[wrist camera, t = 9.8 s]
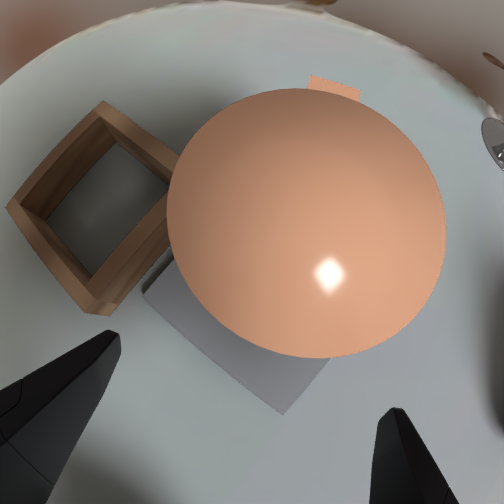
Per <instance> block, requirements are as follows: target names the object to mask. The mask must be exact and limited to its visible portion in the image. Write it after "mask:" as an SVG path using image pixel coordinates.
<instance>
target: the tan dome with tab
mask: <svg viewBox="0 0 504 504" xmlns="http://www.w3.org/2000/svg"><path fill="white" fill-rule="evenodd" d="M360 91H361V90H358V89H355V88H352V87H349V86H346V85H343V84H339V83H336V82H333V81H330V80H326V79H323V78H319V77H316V76H312V75H311V77H310V81H309V84H308V88H307V89H296V88H293V89H279V90H273V91H268V92H262V93H259V94H256V95H253V96H249V97H247V98H244V99H242V100H240V101H238V102H235V103H233V104H231V105H230V106H228V107H226V108H225V109H223V110H221V111H220V112H218V113H217V114H216V115H215V116H213V117H212V118H211V119H210V120H208V121H207V122H206V123H205V124H204V125H203V126H202V127H201V128H200V129H199V130H198V131H197V132H196V133H195V134H194V136H193V137H192V138H191V140H190V141H189V143H188V144H187V145H186V147H185V148H184V150H183V152H182V154H181V156H180V158H179V160H178V162H177V164H176V166H175V169H174V172H173V175H172V178H171V181H170V186H169V191H168V196H167V214H166V216H167V227H168V236H169V240H170V244H171V248H172V252H173V255H174V258H175V260H176V263H177V265H178V267H179V270H180V272H181V274H182V276H183V278H184V279H185V281H186V283H187V284H188V286H189V288H190V290H191V291H192V293H193V294H194V295H195V296H196V298H197V299H198V300H199V301H200V303H201V304H202V305H203V306H204V308H205V309H206V310H207V311H208V312H210V313H211V314H212V315H213V316H214V317H215V318H216V319H217V320H218V321H219V322H220V323H221V324H223V325H224V326H226V327H227V328H228V329H230V330H231V331H233V332H234V333H235V334H237V335H238V336H240V337H242V338H244V339H246V340H248V341H250V342H252V343H253V344H255V345H257V346H260V347H262V348H265V349H268V350H271V351H274V352H277V353H280V354H285V355H290V356H296V357H301V358H331V357H340V356H346V355H350V354H354V353H357V352H361V351H364V350H366V349H369V348H371V347H373V346H376V345H378V344H380V343H382V342H384V341H385V340H387V339H388V338H390V337H392V336H393V335H395V334H396V333H398V332H399V331H400V330H401V329H402V328H403V327H405V326H406V325H407V324H408V323H409V322H410V321H411V320H412V319H413V318H414V317H415V316H416V314H417V313H418V312H419V311H420V310H421V309H422V307H423V306H424V304H425V303H426V301H427V300H428V298H429V296H430V295H431V293H432V291H433V289H434V287H435V285H436V282H437V280H438V278H439V275H440V271H441V268H442V264H443V261H444V255H445V248H446V220H445V211H444V207H443V202H442V198H441V194H440V191H439V189H438V186H437V183H436V180H435V178H434V176H433V174H432V172H431V170H430V168H429V166H428V164H427V163H426V161H425V160H424V158H423V157H422V155H421V154H420V152H419V151H418V149H417V148H416V147H415V146H414V144H413V143H412V142H411V141H410V140H409V138H408V137H407V136H406V135H405V134H404V133H403V132H402V131H401V130H400V129H399V128H397V127H396V126H395V125H394V124H393V123H391V122H390V121H389V120H388V119H386V118H385V117H384V116H382V115H381V114H379V113H377V112H376V111H374V110H373V109H371V108H369V107H367V106H365V105H363V104H361V103H359V98H360Z"/></svg>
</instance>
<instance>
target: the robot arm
mask: <svg viewBox="0 0 504 504" xmlns="http://www.w3.org/2000/svg"><path fill="white" fill-rule="evenodd" d="M120 355H121V342H120V335H119V334H118V333H116V332H114V331H111V330H106V331H104V332H102V333H100V334H98V335H97V336H95V337H93V338H91V339H90V340H88V341H86V342H84V343H83V344H81V345H79V346H77V347H76V348H74V349H72V350H70V351H69V352H67V353H65V354H63V355H62V356H60V357H58V358H56V359H55V360H53V361H51V362H49V363H48V364H46V365H44V366H43V367H41V368H39V369H37V370H36V371H34V372H32V373H30V374H29V375H27V376H25V377H23V379H20V380H18V381H16V382H14V383H13V384H11V385H9V386H7V387H5V388H3V389H2V390H0V504H46V502H47V500H48V498H49V496H50V494H51V492H52V490H53V488H54V485H55V483H56V481H57V480H58V478H59V476H60V474H61V472H62V470H63V468H64V466H65V464H66V462H67V460H68V458H69V456H70V454H71V453H72V451H73V449H74V447H75V445H76V443H77V441H78V440H79V438H80V436H81V434H82V432H83V430H84V429H85V427H86V425H87V423H88V421H89V419H90V418H91V416H92V414H93V412H94V411H95V409H96V407H97V405H98V403H99V402H100V400H101V398H102V396H103V394H104V392H105V390H106V388H107V385H108V383H109V381H110V378H111V376H112V374H113V371H114V369H115V367H116V364H117V362H118V360H119V357H120ZM369 504H459V503H458V501H457V499H456V497H455V496H454V494H453V492H452V490H451V489H450V487H449V485H448V484H447V482H446V480H445V478H444V476H443V475H442V473H441V471H440V469H439V468H438V466H437V464H436V463H435V461H434V459H433V457H432V456H431V454H430V452H429V451H428V449H427V447H426V445H425V444H424V442H423V440H422V439H421V437H420V435H419V434H418V432H417V430H416V429H415V427H414V425H413V424H412V422H411V420H410V419H409V417H408V416H407V414H406V412H405V411H404V410H403V409H402V408H395V407H393V408H391V409H390V410H389V411H388V412H387V413H386V414H385V415H384V416H383V417H382V418H381V419H380V420H379V422H378V426H377V434H376V441H375V447H374V454H373V461H372V472H371V487H370V499H369Z"/></svg>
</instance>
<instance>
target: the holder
mask: <svg viewBox="0 0 504 504" xmlns="http://www.w3.org/2000/svg"><path fill="white" fill-rule="evenodd" d="M116 142H117V143H118V144H119V145H120V146H122V147H123V148H124V149H125V150H126V151H128V152H129V153H130V154H131V155H133V156H134V157H135V158H136V159H138V160H139V161H140V162H141V163H142V164H144V165H145V166H146V167H147V168H149V169H150V170H151V171H152V172H153V173H155V174H156V175H157V176H158V177H160V178H161V179H162V180H163V181H165V182H166V183H167V184H168V185H169V186H170V181H171V178H172V175H173V172H174V169H175V166H176V164H177V162H178V160H179V158H180V156H179V155H177V154H176V153H175V152H173V151H172V150H171V149H169V148H168V147H167V146H165V145H164V144H163V143H161V142H160V141H159V140H157V139H156V138H154V137H153V136H152V135H150V134H149V133H148V132H146V131H145V130H144V129H142V128H141V127H139V126H138V125H137V124H135V123H134V122H133V121H131V120H130V119H128V118H127V117H126V116H124V115H123V114H122V113H120V112H119V111H117V110H116V109H115V108H113V107H112V106H110V105H109V104H108V103H106V102H105V101H102V102H101V103H100V104H99V105H97V106H96V107H95V108H94V109H93V110H92V111H91V112H90V113H89V114H88V115H87V116H86V117H85V118H84V119H82V120H81V121H80V122H79V123H78V124H77V125H76V126H75V127H74V128H73V129H72V130H71V131H70V132H69V133H68V134H67V135H66V136H65V137H64V138H63V139H62V141H61V142H60V143H59V144H58V145H57V146H56V147H55V148H54V149H53V150H52V151H51V152H50V153H49V155H48V156H47V157H46V158H45V159H44V160H43V161H42V162H41V164H40V165H39V166H38V167H37V168H36V169H35V170H34V172H33V173H32V174H31V175H30V176H29V178H28V179H27V180H26V181H25V183H24V184H23V185H22V186H21V188H20V189H19V190H18V191H17V193H16V194H15V195H14V196H13V198H12V199H11V200H10V202H9V203H8V204H7V206H6V207H5V208H6V209H7V211H8V213H9V214H10V216H11V217H12V219H13V220H14V222H15V223H16V225H17V226H18V228H19V229H20V231H21V232H22V234H23V235H24V236H25V238H26V239H27V241H28V242H29V244H30V245H31V246H32V248H33V249H34V250H35V252H36V253H37V255H38V256H39V257H40V259H41V260H42V261H43V263H44V264H45V265H46V266H47V268H48V269H49V270H50V272H51V273H52V274H53V275H54V277H55V278H56V279H57V280H58V282H59V283H60V284H61V285H62V287H63V288H64V289H65V290H66V291H67V293H68V294H69V295H70V296H71V297H72V299H73V300H74V301H75V302H76V303H77V304H78V306H79V307H80V308H81V309H82V310H83V311H84V312H85V313H90V314H97V315H105V316H110V315H111V314H112V312H113V311H114V310H115V309H116V308H117V306H118V305H119V304H120V303H121V302H122V300H123V299H124V298H125V297H126V295H127V294H128V293H129V292H130V291H131V289H132V288H133V287H134V286H135V285H136V284H137V282H138V281H139V280H140V279H141V278H142V276H143V275H144V274H145V273H146V272H147V271H148V269H149V268H150V267H151V266H152V265H153V264H154V263H155V261H156V260H157V259H158V258H159V257H160V256H161V254H162V253H163V252H164V251H165V250H166V249H167V248H168V247H169V245H170V240H169V236H168V227H167V216H166V214H167V196H168V191H169V190H168V191H167V192H166V193H165V194H164V195H163V197H162V198H161V199H160V200H159V201H158V202H157V203H156V204H155V205H154V206H153V207H152V208H151V209H150V210H149V212H148V213H147V214H146V215H145V216H144V217H143V218H142V219H141V220H140V221H139V223H138V224H137V225H136V226H135V227H134V228H133V229H132V230H131V232H130V233H129V234H128V235H127V236H126V237H125V238H124V240H123V241H122V242H121V243H120V244H119V245H118V246H117V248H116V249H115V250H114V251H113V252H112V254H111V255H110V256H109V257H108V258H107V259H106V261H105V262H104V263H103V264H102V266H101V267H100V268H99V269H98V270H97V272H96V273H95V274H94V275H93V277H92V276H91V275H90V273H89V272H88V271H87V270H86V269H85V268H84V267H83V266H82V264H81V263H80V262H79V261H78V260H77V259H76V258H75V256H74V255H73V254H72V253H71V252H70V251H69V249H68V248H67V247H66V246H65V245H64V244H63V242H62V241H61V240H60V239H59V237H58V236H57V235H56V234H55V233H54V231H53V230H52V229H51V228H50V226H49V225H48V224H47V223H46V221H45V220H46V219H47V218H48V217H49V215H50V214H51V213H52V212H53V210H54V209H55V208H56V207H57V206H58V204H59V203H60V202H61V201H62V200H63V198H64V197H65V196H66V195H67V194H68V193H69V191H70V190H71V189H72V188H73V187H74V186H75V185H76V184H77V182H78V181H79V180H80V179H81V178H82V177H83V176H84V175H85V174H86V173H87V171H88V170H89V169H90V168H91V167H92V166H93V165H94V164H95V163H96V162H97V161H98V160H99V159H100V158H101V157H102V156H103V155H104V154H105V153H106V152H107V151H108V150H109V149H110V148H111V147H112V146H113V145H114V144H115V143H116Z"/></svg>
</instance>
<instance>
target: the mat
mask: <svg viewBox="0 0 504 504" xmlns="http://www.w3.org/2000/svg"><path fill="white" fill-rule="evenodd" d="M142 298H143V299H144V300H145V301H146V302H147V303H148V304H149V305H151V306H152V307H153V308H154V309H155V310H156V311H157V312H158V313H159V314H160V315H161V316H162V317H163V318H164V319H166V320H167V321H168V322H169V323H170V324H171V325H172V326H173V327H174V328H175V329H177V330H178V331H179V332H180V333H181V334H182V335H183V336H184V337H186V338H187V339H188V340H189V341H190V342H191V343H192V344H194V345H195V346H196V347H197V348H198V349H199V350H201V351H202V352H203V353H204V354H205V355H206V356H208V357H209V358H210V359H211V360H212V361H214V362H215V363H216V364H217V365H218V366H220V367H221V368H222V369H223V370H224V371H226V372H227V373H228V374H229V375H231V376H232V377H233V378H234V379H236V380H237V381H238V382H239V383H241V384H242V385H243V386H244V387H246V388H247V389H248V390H250V391H251V392H252V393H254V394H255V395H256V396H257V397H259V398H260V399H261V400H263V401H264V402H265V403H267V404H268V405H269V406H271V407H272V408H273V409H275V410H276V411H278V412H279V413H280V414H282V415H283V414H284V413H285V412H286V411H287V410H288V409H289V408H290V407H291V405H292V404H293V403H294V402H295V401H296V400H297V398H298V397H299V396H300V395H301V394H302V393H303V391H304V390H305V389H306V388H307V387H308V385H309V384H310V383H311V382H312V381H313V379H314V378H315V377H316V376H317V374H318V373H319V372H320V371H321V369H322V368H323V367H324V366H325V364H326V363H327V362H328V361H329V359H330V358H301V357H296V356H290V355H285V354H280V353H277V352H274V351H271V350H268V349H265V348H262V347H260V346H257V345H255V344H253V343H252V342H250V341H248V340H246V339H244V338H242V337H240V336H238V335H237V334H235V333H234V332H233V331H231V330H230V329H228V328H227V327H226V326H224V325H223V324H221V323H220V322H219V321H218V320H217V319H216V318H215V317H214V316H213V315H212V314H211V313H210V312H208V311H207V310H206V309H205V308H204V306H203V305H202V304H201V303H200V301H199V300H198V299H197V298H196V296H195V295H194V294H193V293H192V291H191V290H190V288H189V286H188V284H187V283H186V281H185V279H184V278H183V276H182V274H181V272H180V270H179V267H178V265H177V263H176V260H175V258H174V259H173V261H172V262H171V263H170V264H169V265H168V266H167V267H166V269H165V270H164V271H163V272H162V273H161V274H160V276H159V277H158V278H157V279H156V280H155V281H154V283H153V284H152V285H151V286H150V287H149V288H148V290H147V291H146V292H145V293H144V294H143V295H142Z"/></svg>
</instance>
